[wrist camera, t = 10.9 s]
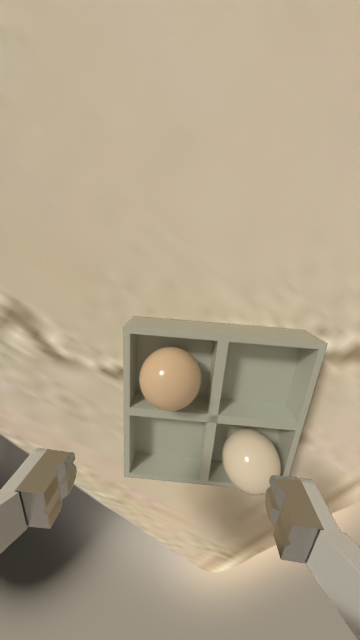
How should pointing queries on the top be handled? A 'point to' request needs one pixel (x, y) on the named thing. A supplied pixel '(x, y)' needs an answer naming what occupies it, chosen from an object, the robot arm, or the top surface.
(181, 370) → the brown egg
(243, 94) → the top surface
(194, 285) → the top surface
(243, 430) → the pale egg
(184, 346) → the carton
